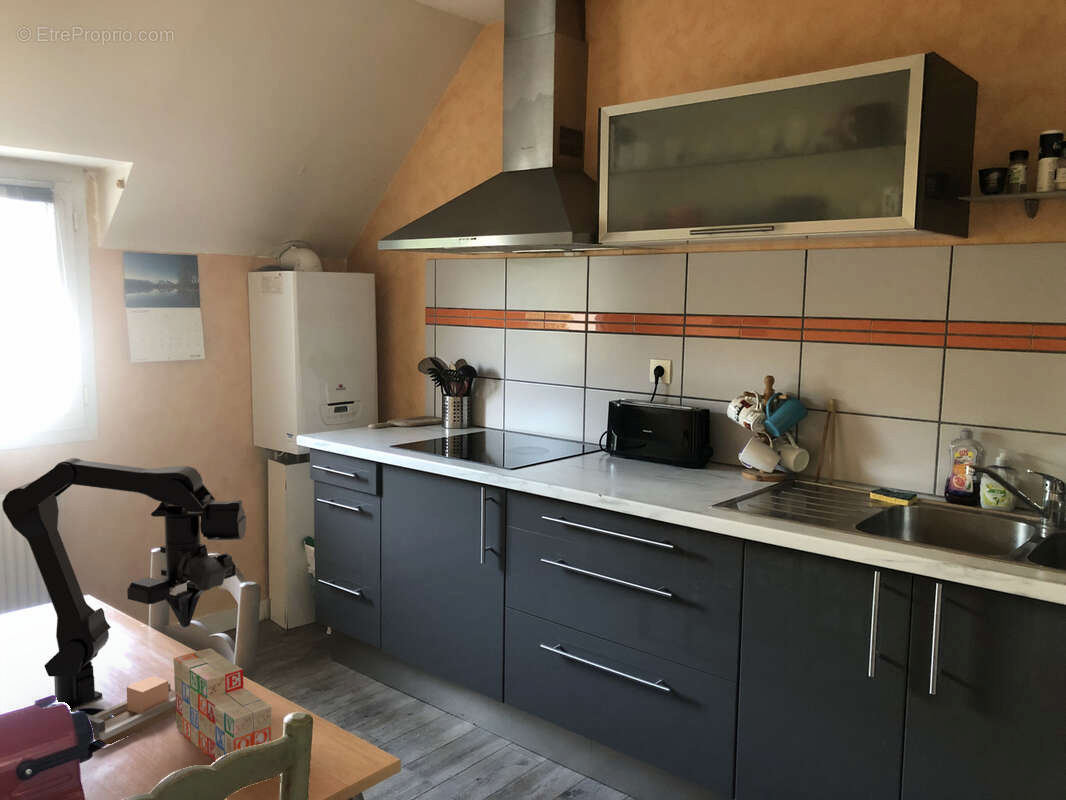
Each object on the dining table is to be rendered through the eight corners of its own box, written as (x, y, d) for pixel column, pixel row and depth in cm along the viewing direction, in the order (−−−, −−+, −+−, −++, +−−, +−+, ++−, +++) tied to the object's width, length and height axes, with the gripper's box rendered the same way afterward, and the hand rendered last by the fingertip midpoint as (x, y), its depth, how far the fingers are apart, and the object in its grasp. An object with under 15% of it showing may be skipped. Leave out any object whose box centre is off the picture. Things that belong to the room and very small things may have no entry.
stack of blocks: (273, 764, 130) (271, 687, 128) (233, 780, 125) (231, 700, 124) (212, 715, 145) (210, 646, 143) (175, 728, 140) (172, 656, 139)
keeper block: (127, 709, 143) (126, 686, 142) (153, 698, 147) (152, 675, 147) (143, 715, 141) (142, 692, 140) (168, 703, 145) (168, 680, 145)
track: (75, 738, 136) (74, 714, 136) (166, 695, 151) (166, 674, 151) (103, 749, 133) (103, 724, 133) (194, 704, 148) (193, 682, 148)
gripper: (169, 560, 136) (172, 654, 138) (257, 534, 153) (258, 618, 154) (123, 550, 141) (126, 640, 143) (213, 526, 158) (215, 607, 159)
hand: (185, 626), depth 150 cm, fingers closed
